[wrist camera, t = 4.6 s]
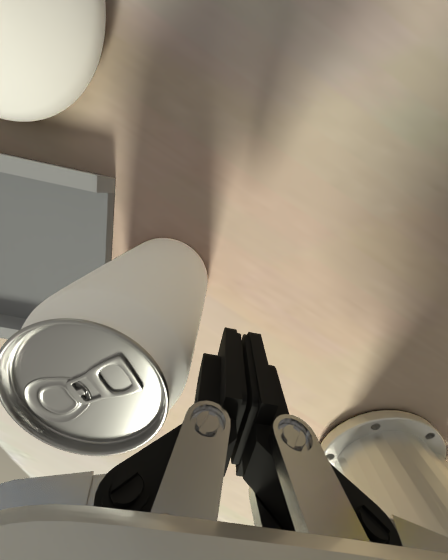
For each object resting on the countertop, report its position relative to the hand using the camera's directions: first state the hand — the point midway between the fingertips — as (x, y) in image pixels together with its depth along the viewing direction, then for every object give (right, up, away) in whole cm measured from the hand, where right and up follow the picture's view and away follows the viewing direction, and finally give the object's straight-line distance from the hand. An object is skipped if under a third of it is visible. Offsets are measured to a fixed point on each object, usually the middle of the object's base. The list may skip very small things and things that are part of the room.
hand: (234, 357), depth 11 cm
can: (-5, +4, +8) cm, 10 cm away
